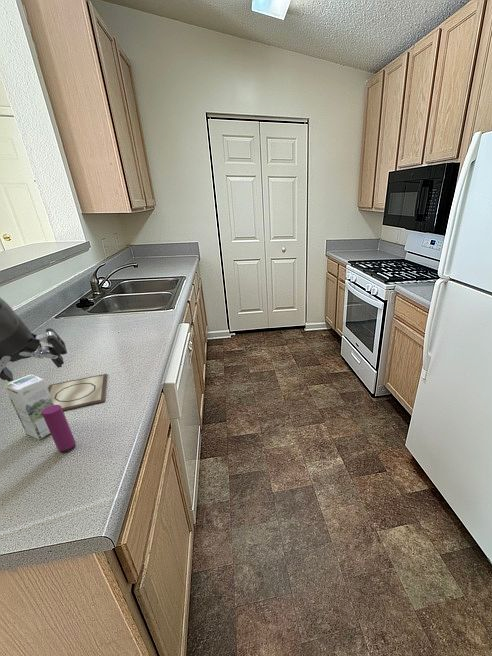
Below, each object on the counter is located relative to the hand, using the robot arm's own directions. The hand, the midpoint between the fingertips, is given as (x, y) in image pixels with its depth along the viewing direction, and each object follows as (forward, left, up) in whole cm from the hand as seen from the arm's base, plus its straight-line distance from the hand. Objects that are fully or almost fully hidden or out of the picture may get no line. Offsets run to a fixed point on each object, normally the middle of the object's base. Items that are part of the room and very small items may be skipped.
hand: (35, 370), depth 69 cm
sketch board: (-1, +27, -20) cm, 34 cm away
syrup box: (-6, +10, -21) cm, 24 cm away
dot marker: (0, 0, -21) cm, 21 cm away
